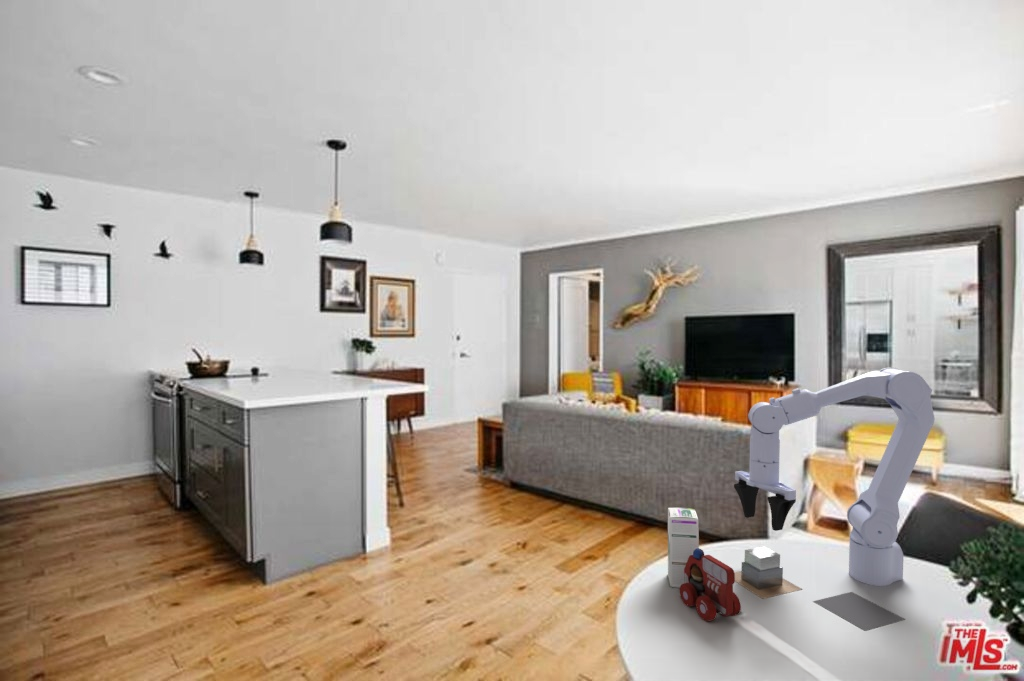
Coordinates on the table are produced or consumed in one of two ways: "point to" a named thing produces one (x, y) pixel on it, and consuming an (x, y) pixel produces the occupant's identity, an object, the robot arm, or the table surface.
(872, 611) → the stand
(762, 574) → the housing
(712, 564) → the toy fire truck
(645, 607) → the table surface
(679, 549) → the syrup box
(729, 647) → the table surface
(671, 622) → the table surface
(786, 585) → the stand
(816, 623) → the table surface
